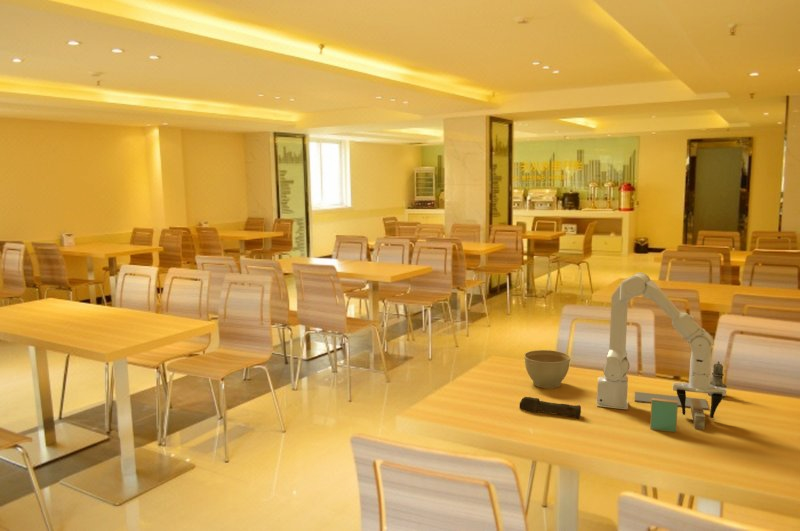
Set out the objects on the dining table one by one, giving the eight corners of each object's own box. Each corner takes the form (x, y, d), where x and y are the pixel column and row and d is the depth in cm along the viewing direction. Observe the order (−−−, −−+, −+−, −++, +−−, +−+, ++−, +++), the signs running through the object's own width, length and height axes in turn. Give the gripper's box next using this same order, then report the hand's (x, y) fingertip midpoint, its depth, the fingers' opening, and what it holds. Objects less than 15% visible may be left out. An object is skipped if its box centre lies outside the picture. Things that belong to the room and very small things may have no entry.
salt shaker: (728, 398, 205) (730, 364, 204) (709, 397, 206) (711, 363, 205) (723, 392, 211) (725, 359, 209) (704, 391, 212) (706, 358, 210)
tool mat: (634, 401, 203) (634, 400, 203) (635, 393, 211) (635, 391, 211) (708, 409, 195) (708, 408, 195) (705, 400, 203) (705, 399, 203)
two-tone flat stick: (694, 428, 180) (695, 415, 179) (690, 410, 194) (691, 398, 194) (704, 430, 179) (705, 416, 178) (699, 411, 193) (700, 399, 193)
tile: (650, 429, 179) (651, 399, 178) (650, 427, 181) (651, 398, 180) (676, 432, 177) (677, 402, 176) (676, 430, 179) (677, 400, 177)
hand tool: (581, 416, 191) (581, 401, 190) (579, 420, 187) (579, 405, 187) (521, 407, 199) (521, 393, 198) (518, 411, 195) (518, 397, 195)
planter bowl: (522, 377, 230) (522, 349, 228) (566, 378, 227) (567, 350, 226) (525, 391, 214) (525, 361, 212) (572, 393, 212) (573, 362, 210)
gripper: (674, 373, 184) (672, 416, 185) (728, 378, 178) (725, 423, 180) (673, 367, 190) (671, 409, 192) (725, 371, 185) (722, 414, 187)
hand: (697, 415), depth 186 cm, fingers open, 7 cm apart
